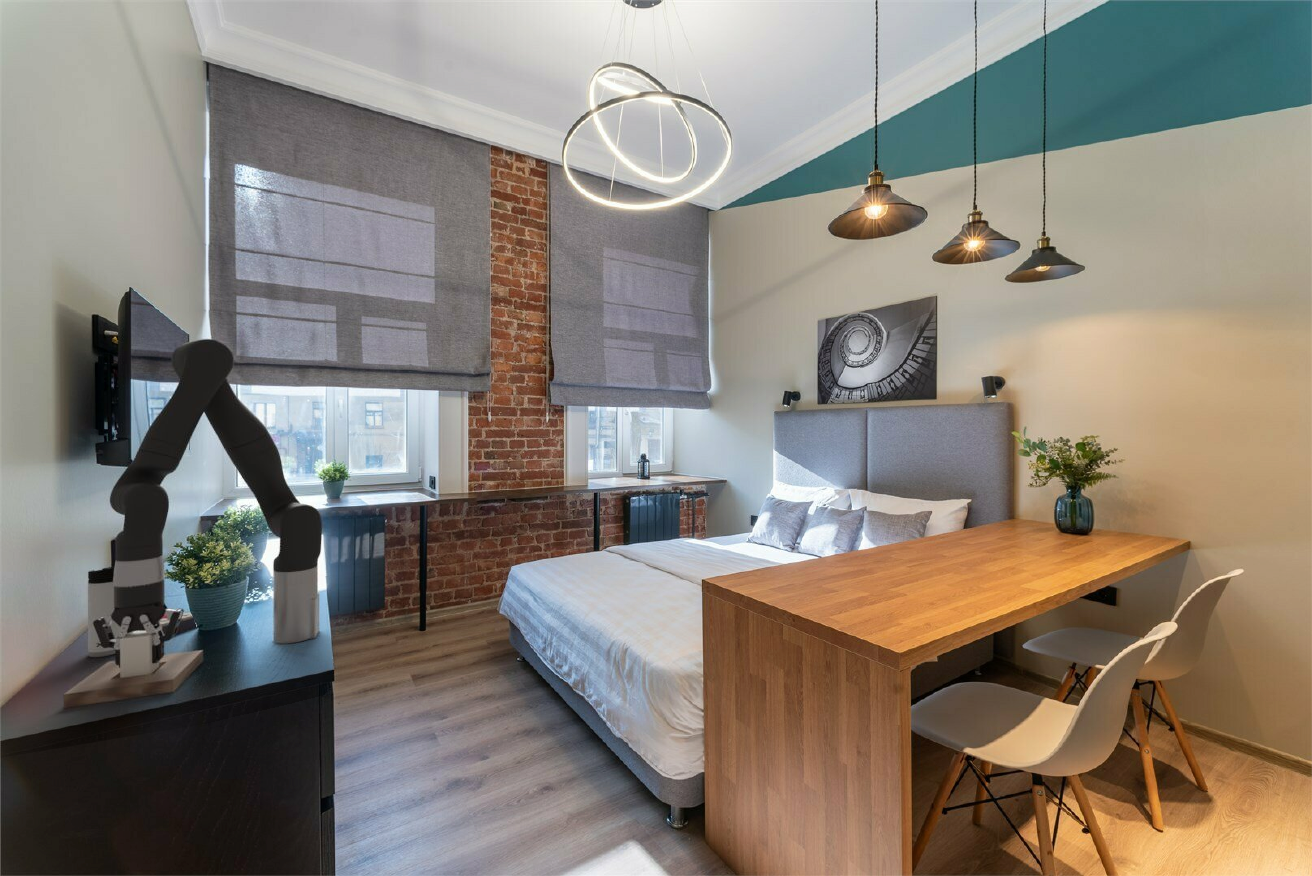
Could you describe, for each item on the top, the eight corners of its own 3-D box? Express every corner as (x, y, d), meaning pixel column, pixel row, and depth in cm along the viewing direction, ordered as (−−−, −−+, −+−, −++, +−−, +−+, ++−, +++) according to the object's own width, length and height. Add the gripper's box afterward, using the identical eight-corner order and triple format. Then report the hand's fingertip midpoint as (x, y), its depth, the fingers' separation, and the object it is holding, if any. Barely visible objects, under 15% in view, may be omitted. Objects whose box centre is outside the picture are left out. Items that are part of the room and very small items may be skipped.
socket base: (203, 661, 122) (203, 649, 122) (173, 691, 108) (173, 679, 108) (108, 673, 116) (108, 661, 116) (63, 707, 101) (63, 694, 101)
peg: (159, 666, 115) (158, 628, 115) (149, 675, 111) (149, 635, 111) (131, 670, 113) (131, 631, 113) (120, 679, 109) (120, 638, 109)
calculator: (203, 612, 146) (143, 628, 131) (203, 628, 146) (142, 647, 131) (168, 610, 148) (104, 626, 133) (167, 626, 148) (103, 644, 133)
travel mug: (103, 658, 124) (102, 569, 124) (80, 656, 125) (80, 568, 125) (134, 648, 130) (134, 563, 130) (112, 646, 131) (112, 562, 131)
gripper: (190, 572, 118) (191, 651, 118) (103, 579, 112) (103, 662, 112) (176, 580, 111) (177, 665, 111) (82, 588, 106) (82, 677, 106)
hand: (140, 663), depth 112 cm, fingers closed on peg, 4 cm apart
